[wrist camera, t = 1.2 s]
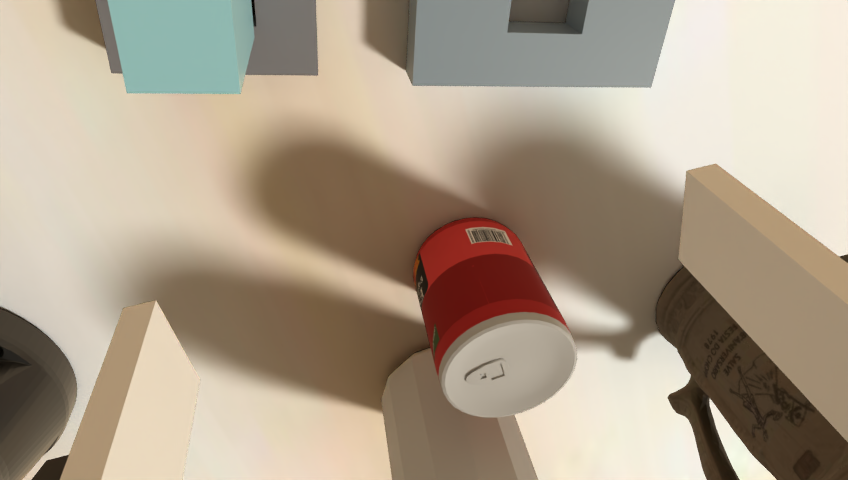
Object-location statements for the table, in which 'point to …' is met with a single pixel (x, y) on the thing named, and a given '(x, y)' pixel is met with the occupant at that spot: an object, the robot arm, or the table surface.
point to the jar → (446, 432)
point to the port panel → (535, 44)
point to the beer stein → (742, 393)
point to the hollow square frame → (258, 38)
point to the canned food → (490, 320)
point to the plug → (183, 44)
